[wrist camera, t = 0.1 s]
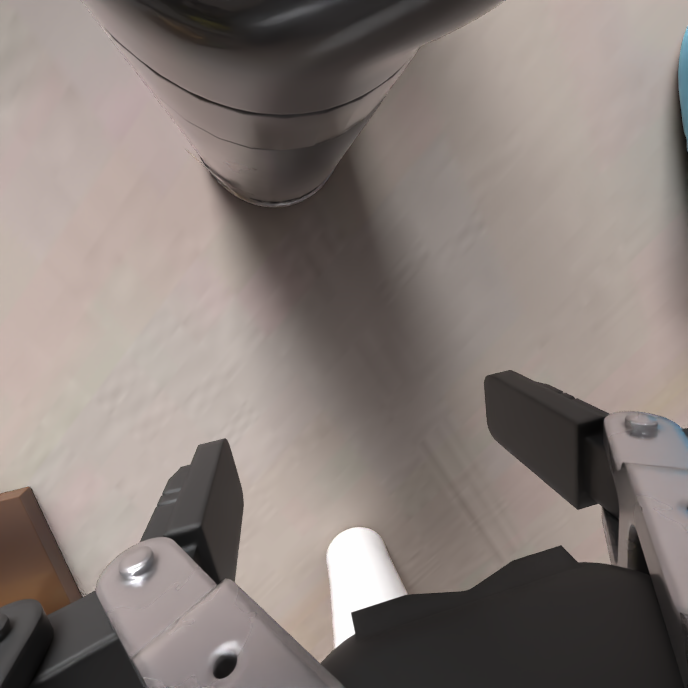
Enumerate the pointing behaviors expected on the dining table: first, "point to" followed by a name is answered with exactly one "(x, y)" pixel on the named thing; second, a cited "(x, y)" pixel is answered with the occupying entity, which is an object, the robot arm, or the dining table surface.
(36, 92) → the dining table surface
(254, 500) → the dining table surface
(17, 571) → the pastry board
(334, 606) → the drinking glass
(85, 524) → the dining table surface
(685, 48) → the casserole dish
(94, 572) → the dining table surface
